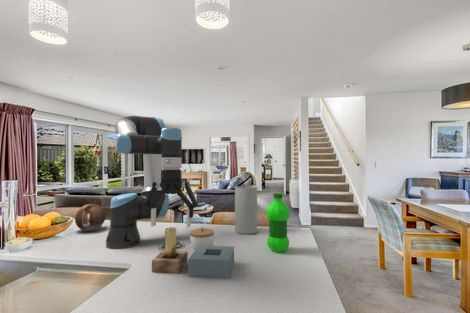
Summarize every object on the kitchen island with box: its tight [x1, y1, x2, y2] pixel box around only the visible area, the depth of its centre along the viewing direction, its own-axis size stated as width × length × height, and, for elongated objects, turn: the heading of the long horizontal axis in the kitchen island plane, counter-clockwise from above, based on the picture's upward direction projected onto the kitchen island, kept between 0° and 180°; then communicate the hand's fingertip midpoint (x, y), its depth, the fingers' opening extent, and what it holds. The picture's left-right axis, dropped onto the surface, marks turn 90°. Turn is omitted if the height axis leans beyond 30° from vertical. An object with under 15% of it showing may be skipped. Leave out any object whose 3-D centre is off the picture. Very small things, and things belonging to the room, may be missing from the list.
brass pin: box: [164, 226, 177, 259], centre depth 93 cm, size 4×4×14 cm
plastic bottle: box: [266, 192, 291, 253], centre depth 110 cm, size 10×10×25 cm
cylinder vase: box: [234, 185, 258, 235], centre depth 140 cm, size 12×12×25 cm
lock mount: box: [151, 250, 189, 274], centre depth 93 cm, size 10×10×4 cm
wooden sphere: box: [74, 203, 106, 232], centre depth 141 cm, size 15×15×15 cm
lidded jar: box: [189, 227, 215, 251], centre depth 112 cm, size 11×11×9 cm
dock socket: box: [188, 245, 235, 279], centre depth 91 cm, size 14×14×6 cm
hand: (171, 226), depth 93 cm, fingers open, 13 cm apart
